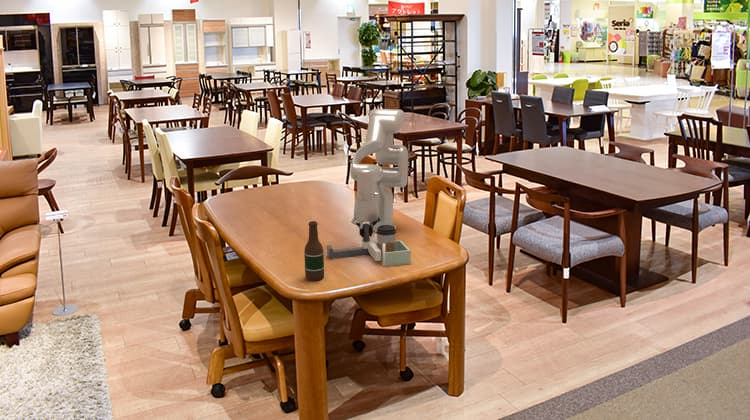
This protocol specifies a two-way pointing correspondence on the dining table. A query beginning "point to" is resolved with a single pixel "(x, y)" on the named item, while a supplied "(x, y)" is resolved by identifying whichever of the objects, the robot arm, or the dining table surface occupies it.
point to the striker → (370, 243)
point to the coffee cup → (386, 238)
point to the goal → (395, 254)
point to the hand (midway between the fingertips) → (366, 235)
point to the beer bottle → (314, 255)
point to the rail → (346, 252)
